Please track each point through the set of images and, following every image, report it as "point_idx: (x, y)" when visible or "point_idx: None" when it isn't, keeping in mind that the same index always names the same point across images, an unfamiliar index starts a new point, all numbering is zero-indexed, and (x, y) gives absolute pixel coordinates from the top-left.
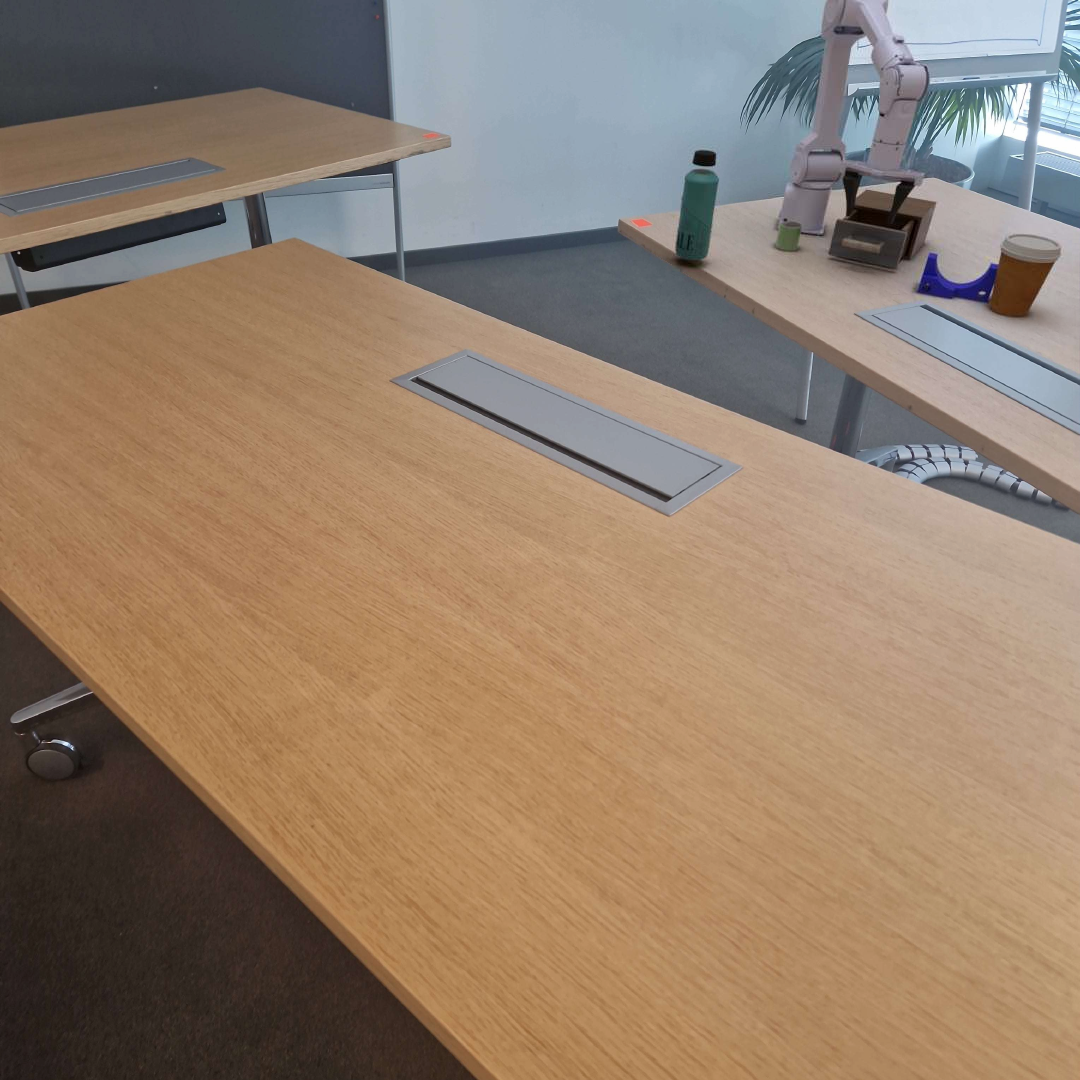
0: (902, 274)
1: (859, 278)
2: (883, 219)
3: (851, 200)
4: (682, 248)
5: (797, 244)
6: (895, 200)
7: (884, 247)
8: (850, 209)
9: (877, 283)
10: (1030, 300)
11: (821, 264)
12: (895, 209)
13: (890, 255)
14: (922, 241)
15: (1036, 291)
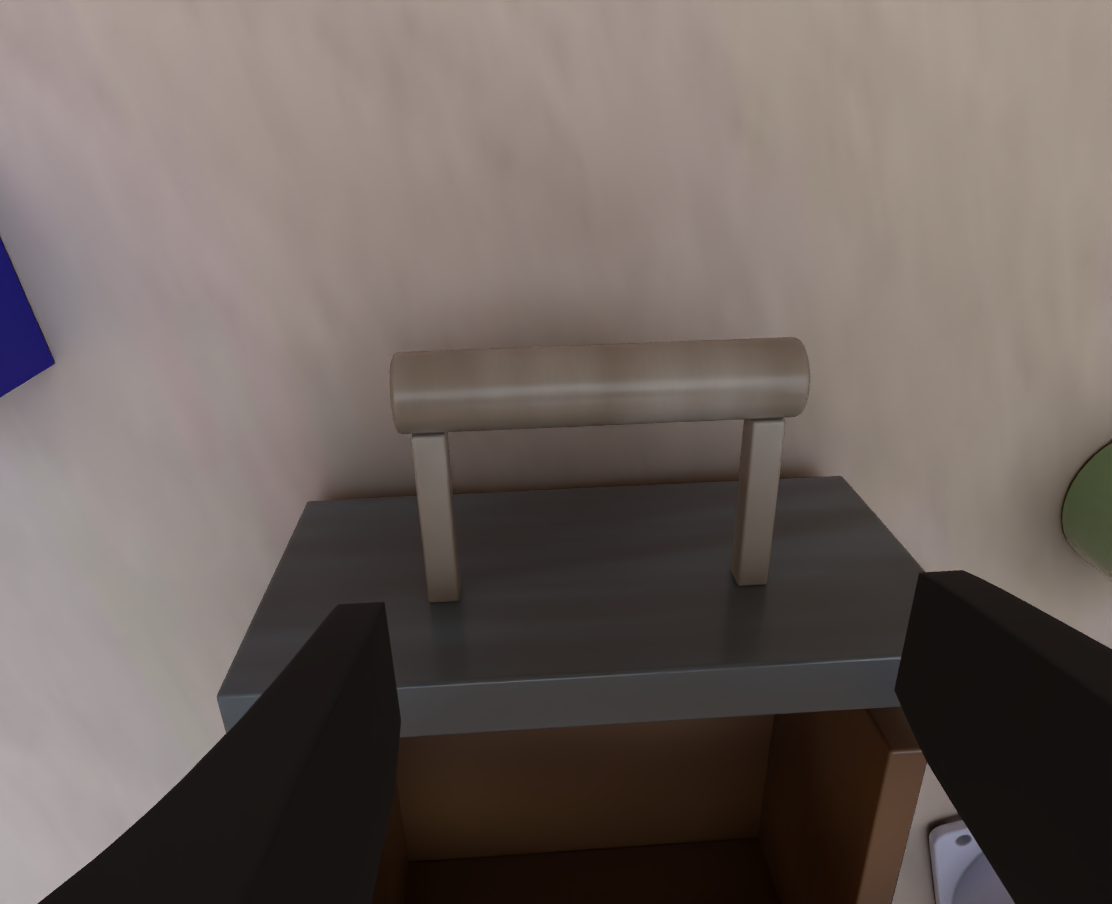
0: (264, 502)
1: (492, 179)
2: None
3: (1103, 700)
4: None
5: (1095, 511)
6: (208, 883)
7: (425, 574)
8: (980, 621)
9: (324, 156)
10: None
11: (847, 310)
12: (233, 747)
13: (361, 545)
14: None
15: None
